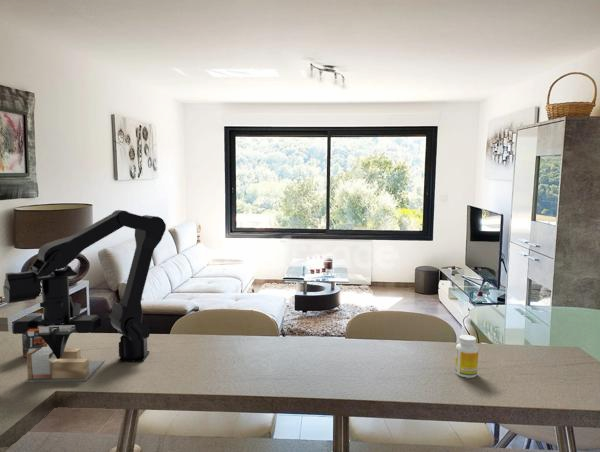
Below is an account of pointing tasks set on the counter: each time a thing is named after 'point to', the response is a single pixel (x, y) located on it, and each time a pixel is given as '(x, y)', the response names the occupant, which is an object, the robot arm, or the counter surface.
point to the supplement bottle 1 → (32, 338)
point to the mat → (92, 368)
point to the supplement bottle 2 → (466, 357)
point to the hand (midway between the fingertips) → (59, 358)
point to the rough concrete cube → (42, 361)
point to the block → (63, 365)
